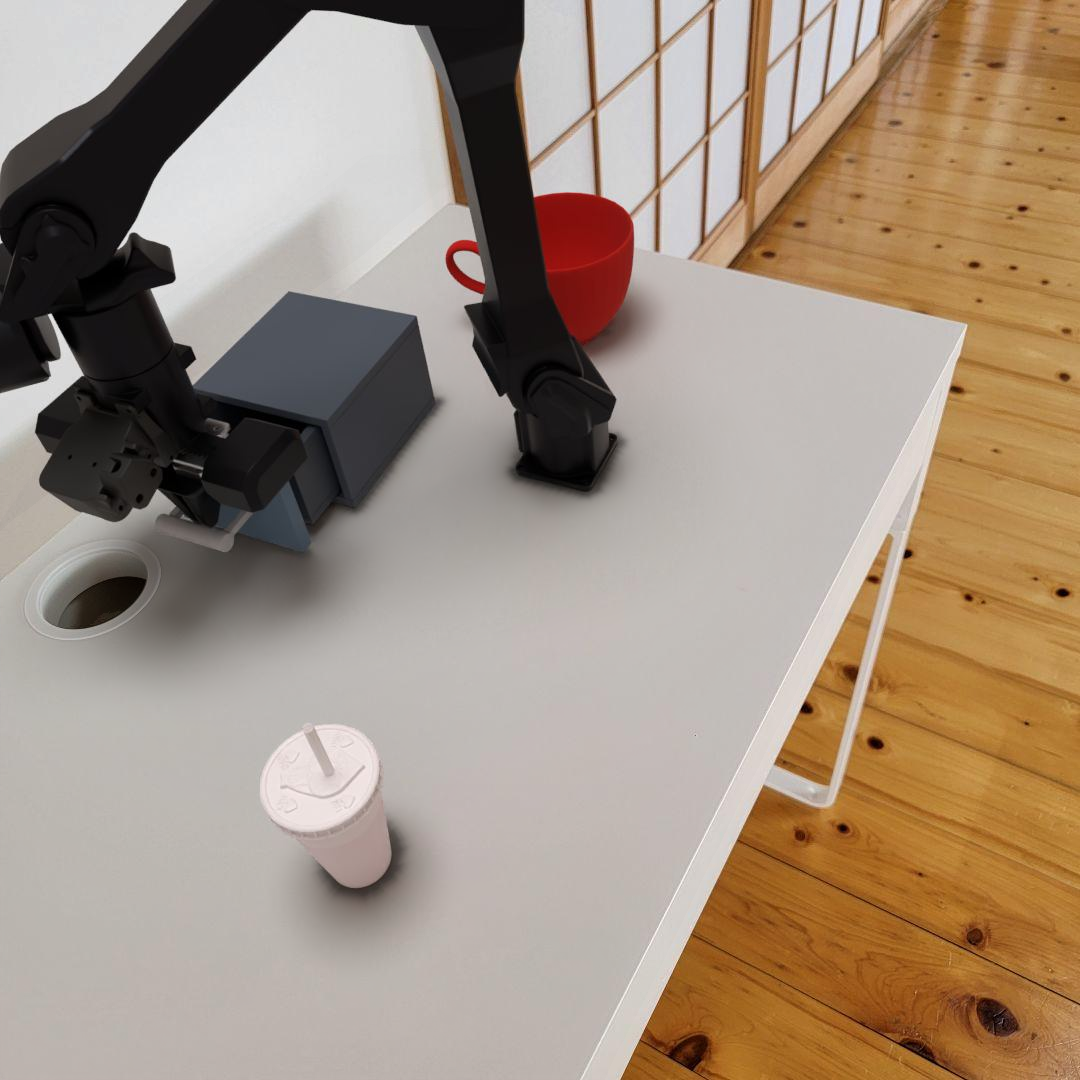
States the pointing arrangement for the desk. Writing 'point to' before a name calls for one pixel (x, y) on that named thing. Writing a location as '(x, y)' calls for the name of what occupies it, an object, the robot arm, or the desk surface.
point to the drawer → (288, 507)
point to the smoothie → (331, 800)
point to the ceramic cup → (576, 258)
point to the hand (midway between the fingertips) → (209, 525)
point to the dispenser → (332, 380)
